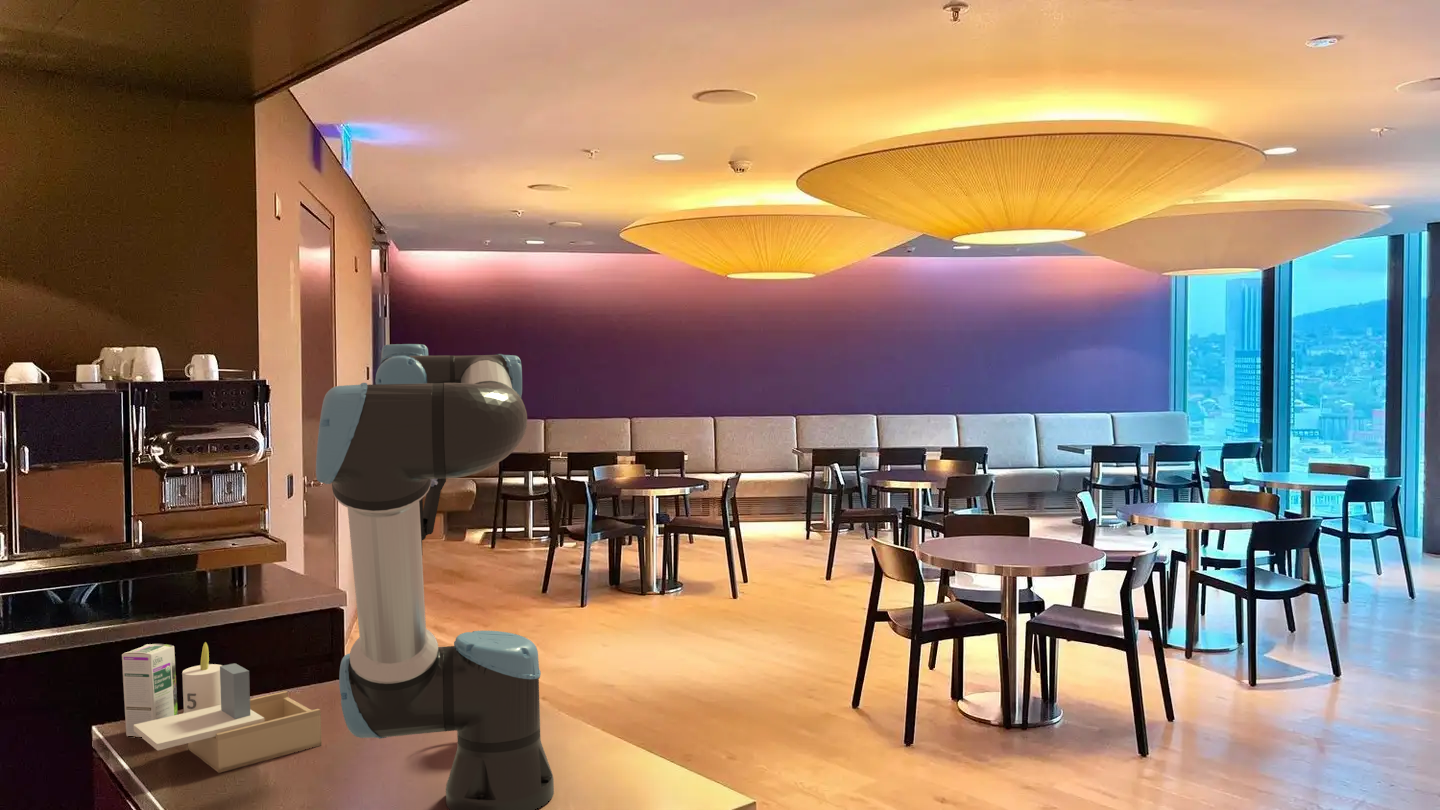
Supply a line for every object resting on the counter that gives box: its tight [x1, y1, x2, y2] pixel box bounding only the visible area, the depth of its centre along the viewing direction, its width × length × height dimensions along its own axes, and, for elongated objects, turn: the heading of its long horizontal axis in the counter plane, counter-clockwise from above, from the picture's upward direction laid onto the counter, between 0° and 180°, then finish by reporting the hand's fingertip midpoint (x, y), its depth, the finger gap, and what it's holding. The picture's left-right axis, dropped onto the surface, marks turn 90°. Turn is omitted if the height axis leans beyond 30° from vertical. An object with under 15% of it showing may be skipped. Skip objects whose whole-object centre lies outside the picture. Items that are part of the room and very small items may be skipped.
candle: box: [181, 641, 223, 713], centre depth 180 cm, size 6×6×15 cm
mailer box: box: [187, 690, 322, 774], centre depth 172 cm, size 16×14×6 cm
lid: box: [134, 663, 265, 751], centre depth 166 cm, size 16×12×8 cm
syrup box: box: [121, 643, 179, 737], centre depth 179 cm, size 6×6×14 cm
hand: (410, 578), depth 175 cm, fingers closed
